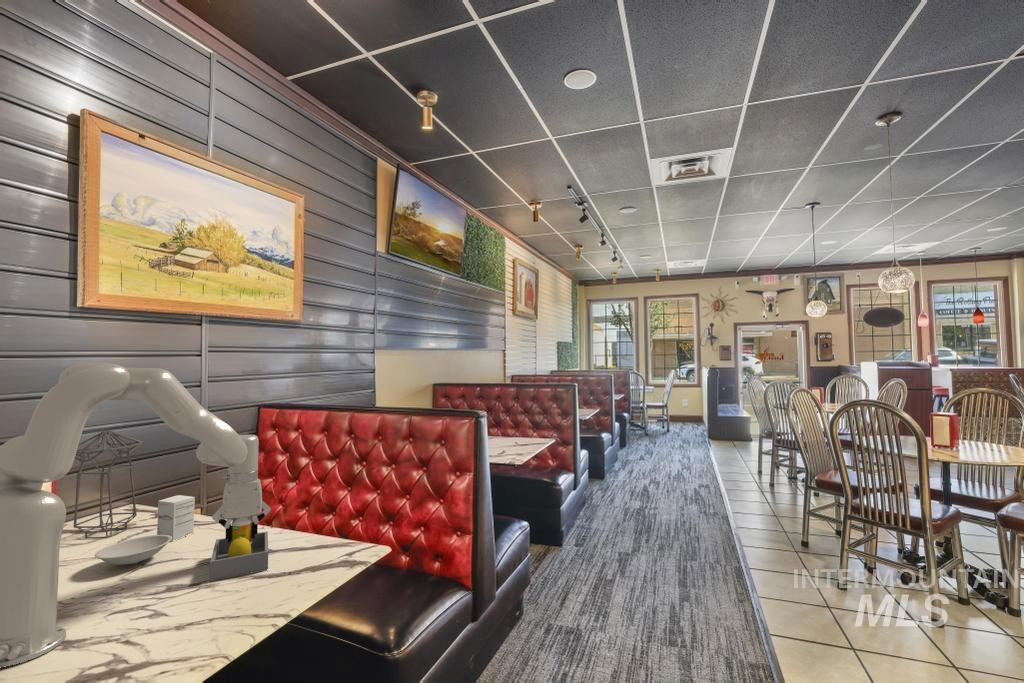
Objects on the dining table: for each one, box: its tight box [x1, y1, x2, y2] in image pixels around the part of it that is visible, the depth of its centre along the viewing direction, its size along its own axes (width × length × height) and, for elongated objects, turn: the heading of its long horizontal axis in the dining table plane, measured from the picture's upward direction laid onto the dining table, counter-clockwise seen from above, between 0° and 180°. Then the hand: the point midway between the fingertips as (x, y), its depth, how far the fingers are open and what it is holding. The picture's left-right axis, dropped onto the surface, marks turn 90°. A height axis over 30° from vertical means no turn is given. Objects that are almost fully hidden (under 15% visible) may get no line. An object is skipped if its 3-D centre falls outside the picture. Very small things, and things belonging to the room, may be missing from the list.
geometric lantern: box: [72, 429, 145, 539], centre depth 155 cm, size 16×16×35 cm
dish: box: [94, 534, 172, 566], centre depth 131 cm, size 18×14×5 cm
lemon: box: [228, 537, 251, 558], centre depth 128 cm, size 6×6×8 cm
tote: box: [209, 531, 269, 582], centre depth 131 cm, size 18×14×5 cm
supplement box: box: [156, 494, 196, 542], centre depth 152 cm, size 7×7×13 cm
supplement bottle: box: [231, 516, 253, 544], centre depth 135 cm, size 5×5×10 cm
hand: (241, 538), depth 135 cm, fingers closed on supplement bottle, 5 cm apart
